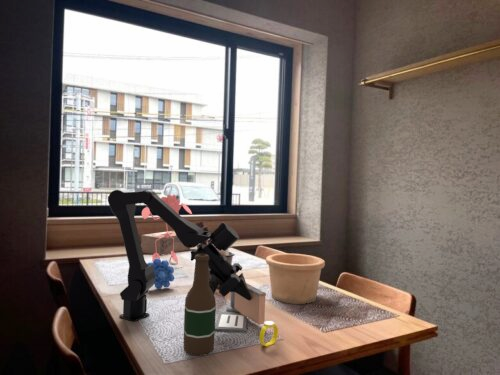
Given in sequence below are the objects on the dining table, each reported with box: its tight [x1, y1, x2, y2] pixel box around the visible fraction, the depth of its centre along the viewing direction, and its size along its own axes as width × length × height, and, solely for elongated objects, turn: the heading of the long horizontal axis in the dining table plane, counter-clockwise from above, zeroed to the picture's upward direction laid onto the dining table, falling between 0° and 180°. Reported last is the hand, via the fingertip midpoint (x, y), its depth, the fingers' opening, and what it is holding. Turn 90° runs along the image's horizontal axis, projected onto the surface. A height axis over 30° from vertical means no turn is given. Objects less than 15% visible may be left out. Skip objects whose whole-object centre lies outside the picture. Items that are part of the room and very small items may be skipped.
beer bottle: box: [183, 254, 217, 357], centre depth 95 cm, size 8×8×24 cm
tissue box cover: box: [140, 230, 191, 256], centre depth 223 cm, size 26×14×10 cm, turn 148°
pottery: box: [265, 253, 326, 305], centre depth 142 cm, size 22×22×14 cm
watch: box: [259, 320, 279, 348], centre depth 100 cm, size 6×3×6 cm, turn 135°
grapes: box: [146, 258, 175, 290], centre depth 145 cm, size 12×7×12 cm, turn 118°
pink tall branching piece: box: [141, 193, 193, 270], centre depth 184 cm, size 15×26×35 cm, turn 132°
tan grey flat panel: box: [229, 282, 267, 326], centre depth 118 cm, size 18×2×9 cm, turn 30°
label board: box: [215, 304, 248, 333], centre depth 117 cm, size 20×9×1 cm, turn 179°
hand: (250, 299), depth 113 cm, fingers closed
